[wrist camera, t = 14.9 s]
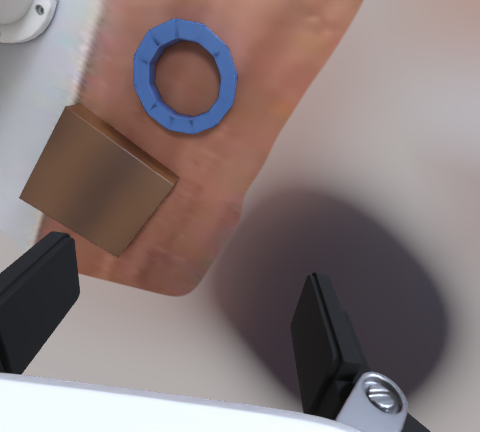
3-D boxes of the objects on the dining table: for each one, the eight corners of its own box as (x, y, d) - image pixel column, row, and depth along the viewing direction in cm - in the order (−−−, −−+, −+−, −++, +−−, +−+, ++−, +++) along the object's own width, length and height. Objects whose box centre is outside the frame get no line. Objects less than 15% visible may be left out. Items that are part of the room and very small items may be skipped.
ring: (123, 86, 33) (114, 88, 31) (176, -3, 29) (170, -9, 27) (199, 147, 36) (196, 152, 34) (256, 73, 32) (256, 73, 30)
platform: (34, 188, 39) (18, 197, 36) (79, 103, 34) (65, 106, 31) (126, 246, 43) (117, 258, 40) (179, 177, 38) (174, 185, 35)
